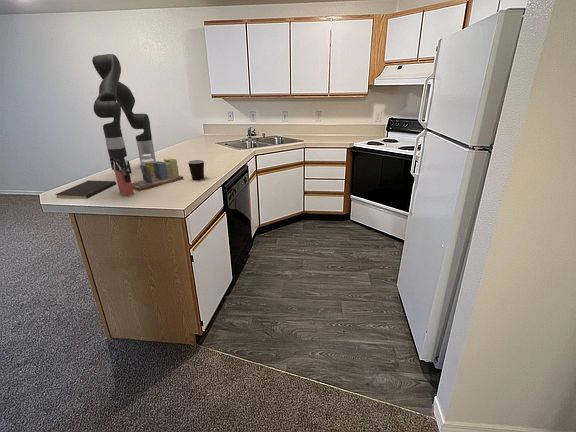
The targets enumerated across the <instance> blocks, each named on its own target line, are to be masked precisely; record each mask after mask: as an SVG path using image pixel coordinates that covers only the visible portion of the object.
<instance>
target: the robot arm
mask: <svg viewBox="0 0 576 432" xmlns="http://www.w3.org/2000/svg"><path fill="white" fill-rule="evenodd" d="M91 60H92V64H93V67H94V69H95V71H96V72H97V74H98V75H99V77H100V78H101V80H102V81H101V82H100V83H99V88H98V96H97V97H96V99H95V101H94V103H93V107H92V108H93V109H92V110H93V112H94V114H95V115H96V117H98V118H99V119H111V118H113V121H112V122H108V123H105V124H103V125H102V131H103V134H104V137H105V139H104V140H105V145H106V148H107V149H106V150H107V154H108V157H109V161H110V166H111V170H112V171H114V173H115V170H119V169H120V170H121V171H122V172H123V174H124V177H125V182H130V181H131V182H132V179H131V180H130V177H131V174H132V173H133V172H132V168H131V163H130V161H129V160H126V159H125V158H126V157H127V156H128V154H127V150H126V149H127V147H126V144H125V140H124V137H123V133H122V128H121V116H122V115H121V114H122V112H123V113H124V115H125V117H126V120H127V121H128V123H129V125H130V127H131V128H132V129H134V130H143V132H142V133H139V134H138V135H136V136H135V142H136V147H137V151H138V158H139V162H140V166H141V165H142V160H143V157H142V155H144V154H151V158H152V159H153V160H154V162H156V161H157V158H156V155H155V154H156V153H155V149H154V142H153V138H152V136H153V135H152V129H151V121H150V117H149V115H148V114H147V113H134V111H133V109H134V106H135V104H136V98H135V96H134V93H133V92H132V91H131V88H129V86H127V85H125V83H122V82H121V81H120V78H121V73H122V67H121V63H120V60H119V58H118V57H117V55H115V54H114V53H106V54H99V55H94V56H93V57H92V58H91ZM124 170H125V171H124ZM129 174H130V175H129Z"/></svg>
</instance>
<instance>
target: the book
mask: <svg viewBox="0 0 576 432" xmlns="http://www.w3.org/2000/svg"><path fill="white" fill-rule="evenodd" d="M124 171H125V170H124ZM114 175H115V178H116V184H117V187H118V190H119V191H118V192H119V194H120V195H121V196H123V197H129V196H133V195H135V192H134V191H135V190H134V189H133V186H132V183H133V182H132V177H131V173H130V174H129V175H130V180H131V181H130V182H125V177H124V174H123V172H122V171H121V170H120V169H119V170H115V172H114Z"/></svg>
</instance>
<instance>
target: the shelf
mask: <svg viewBox="0 0 576 432" xmlns="http://www.w3.org/2000/svg"><path fill="white" fill-rule="evenodd" d="M152 163H153V168H154V174H155V177H153V178H152V176H151V171H150V167H148V166H145V165H141V164H140V169H141V170H140V171H141V174H142V175H141V176H142V180H138V181H134V182H132V186H133V190H134V191H138V192H143V191H146V190H149V189H153V188H157V187H160V186H163V185H167V184H171V183H174V182H178V181H182V180H184V176H181V175H180V174H179V173H180V172H179V167H178V161H177V159H175V158H171V157H167V158H163V161H159V160H156V162H152Z"/></svg>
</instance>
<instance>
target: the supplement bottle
mask: <svg viewBox="0 0 576 432" xmlns="http://www.w3.org/2000/svg"><path fill="white" fill-rule="evenodd" d="M142 157H143V160H142V165H145V166H148V167H150V171H151V176H152V178H154V177H155V174H154V168H153V163H152V162H154V160H153V159H152V158H151V154H144V155H142Z"/></svg>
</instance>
